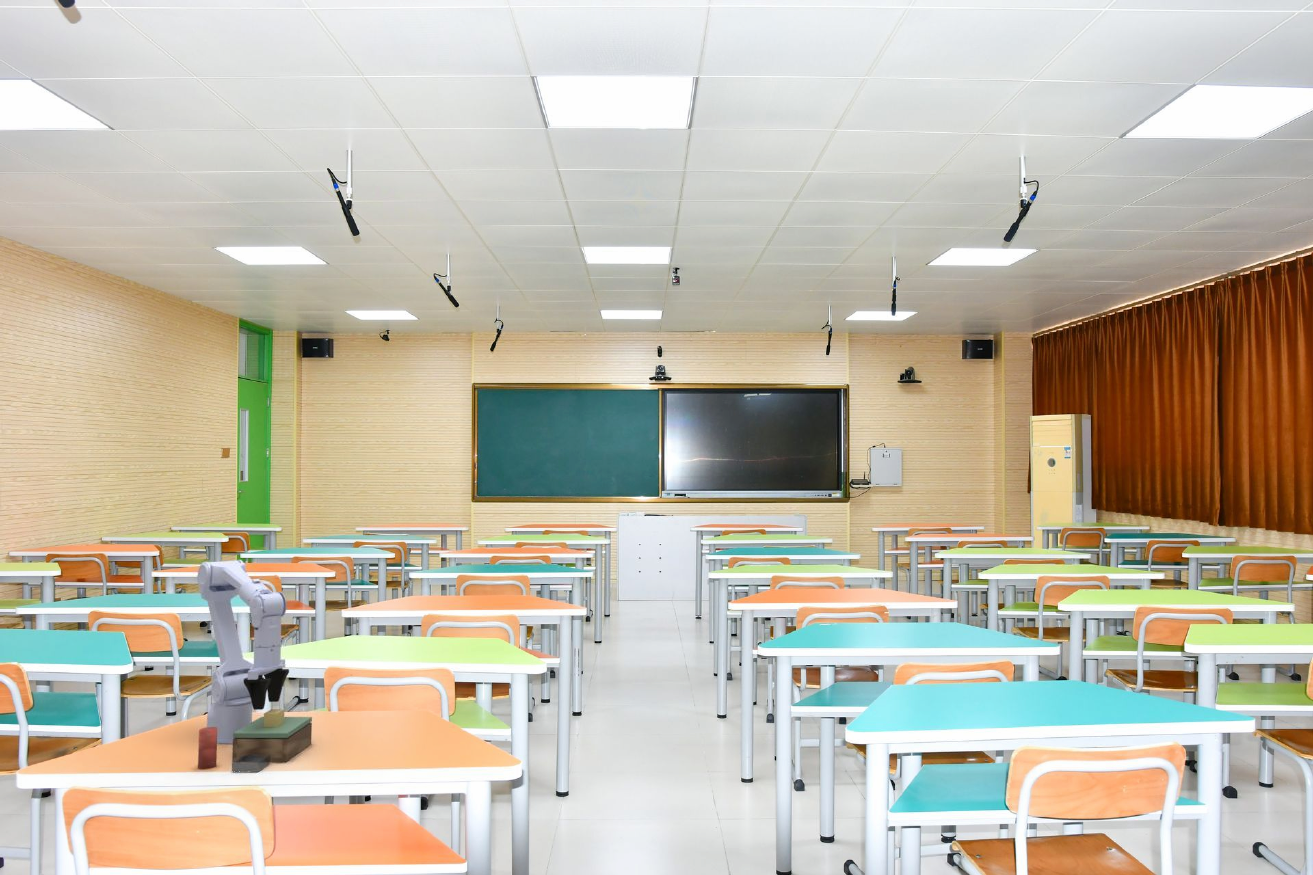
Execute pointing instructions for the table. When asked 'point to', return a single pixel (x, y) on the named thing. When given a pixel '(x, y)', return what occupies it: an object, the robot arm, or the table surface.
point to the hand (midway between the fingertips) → (266, 705)
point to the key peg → (207, 748)
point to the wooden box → (274, 745)
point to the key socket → (251, 763)
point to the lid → (273, 726)
